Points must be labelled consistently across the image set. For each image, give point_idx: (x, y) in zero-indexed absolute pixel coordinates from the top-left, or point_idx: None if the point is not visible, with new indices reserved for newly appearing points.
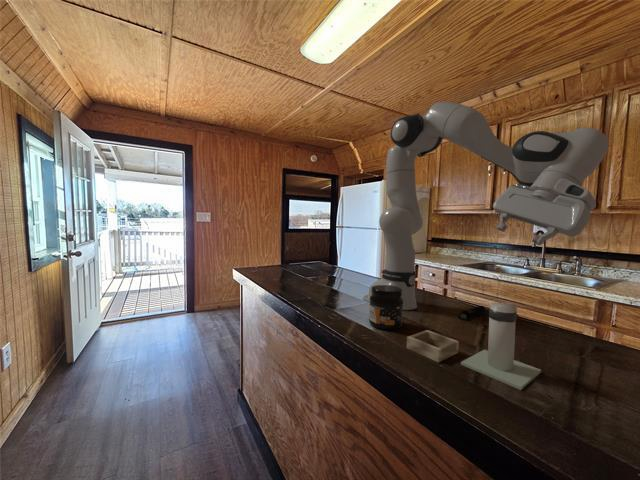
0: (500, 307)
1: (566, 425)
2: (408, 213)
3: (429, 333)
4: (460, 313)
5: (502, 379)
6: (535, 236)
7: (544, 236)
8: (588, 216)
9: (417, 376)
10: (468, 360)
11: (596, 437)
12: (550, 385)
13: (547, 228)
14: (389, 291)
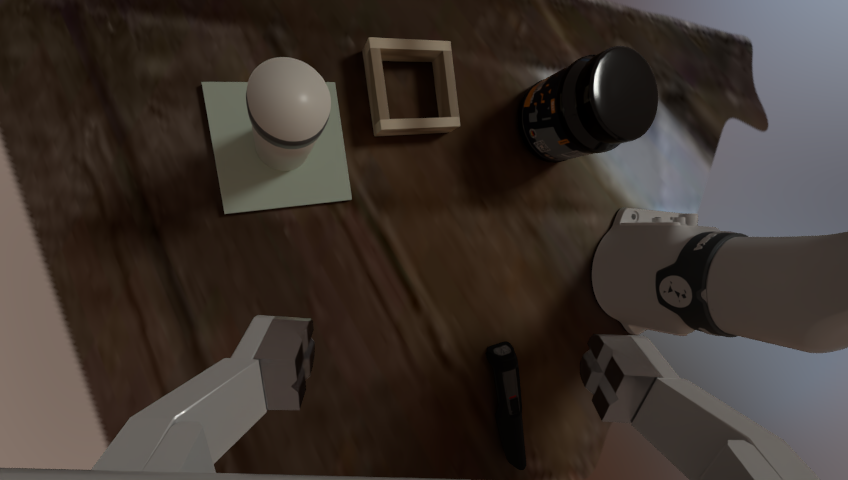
0: (277, 59)
1: (80, 20)
2: None
3: (446, 117)
4: (513, 351)
5: (241, 82)
6: (297, 344)
7: (216, 365)
8: None
9: None
10: (331, 105)
11: (27, 24)
12: (181, 166)
13: (191, 445)
14: (599, 65)
